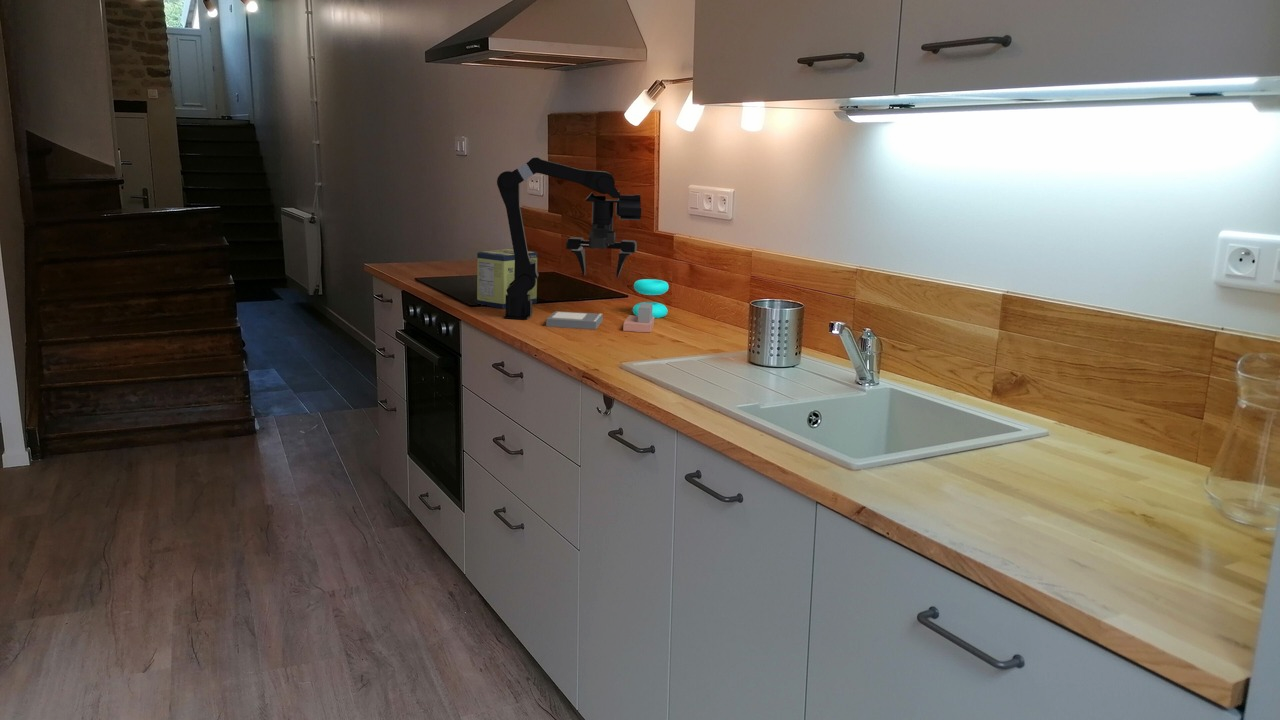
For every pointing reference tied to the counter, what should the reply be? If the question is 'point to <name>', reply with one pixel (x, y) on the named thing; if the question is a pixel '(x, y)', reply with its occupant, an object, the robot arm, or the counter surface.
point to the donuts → (652, 289)
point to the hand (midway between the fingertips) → (600, 276)
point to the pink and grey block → (640, 319)
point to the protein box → (498, 277)
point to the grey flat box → (574, 320)
